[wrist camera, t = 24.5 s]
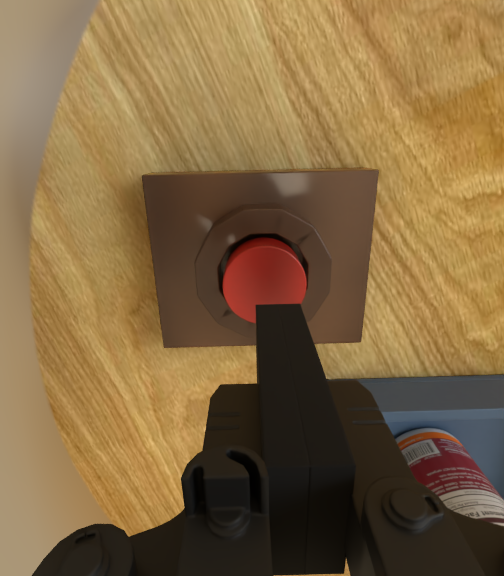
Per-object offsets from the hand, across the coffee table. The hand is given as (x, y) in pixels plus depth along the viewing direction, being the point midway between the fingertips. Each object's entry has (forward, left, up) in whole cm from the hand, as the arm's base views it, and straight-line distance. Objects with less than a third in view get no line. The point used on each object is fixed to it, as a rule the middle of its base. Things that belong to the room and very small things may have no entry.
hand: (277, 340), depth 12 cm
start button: (0, 0, -7) cm, 7 cm away
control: (0, 0, -10) cm, 10 cm away
